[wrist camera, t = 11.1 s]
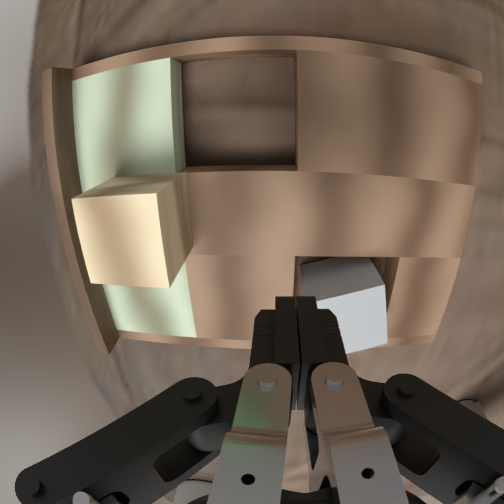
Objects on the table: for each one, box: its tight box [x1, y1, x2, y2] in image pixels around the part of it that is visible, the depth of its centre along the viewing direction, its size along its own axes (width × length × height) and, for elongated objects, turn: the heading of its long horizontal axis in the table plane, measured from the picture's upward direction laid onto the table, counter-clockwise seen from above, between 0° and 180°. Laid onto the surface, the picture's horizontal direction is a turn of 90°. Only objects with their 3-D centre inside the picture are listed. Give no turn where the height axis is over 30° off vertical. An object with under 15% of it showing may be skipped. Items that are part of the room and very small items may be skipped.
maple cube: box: [71, 172, 193, 288], centre depth 18 cm, size 6×6×6 cm
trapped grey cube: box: [300, 257, 387, 354], centre depth 23 cm, size 6×6×6 cm
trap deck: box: [42, 36, 482, 354], centre depth 20 cm, size 31×24×5 cm
